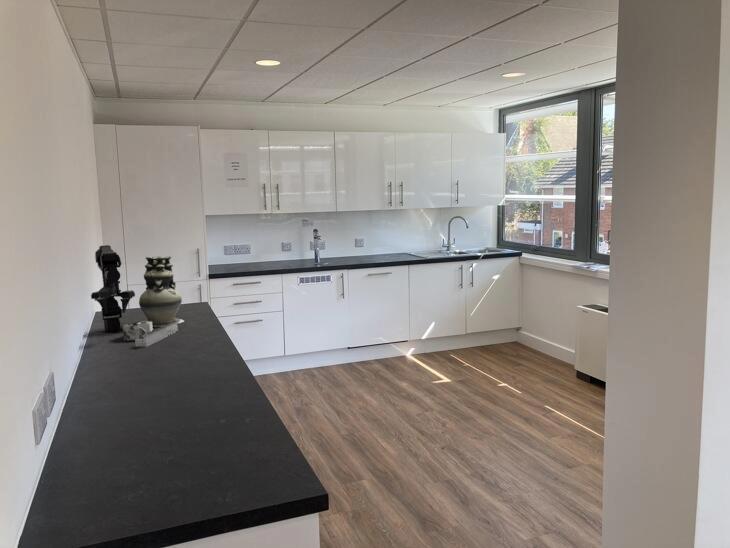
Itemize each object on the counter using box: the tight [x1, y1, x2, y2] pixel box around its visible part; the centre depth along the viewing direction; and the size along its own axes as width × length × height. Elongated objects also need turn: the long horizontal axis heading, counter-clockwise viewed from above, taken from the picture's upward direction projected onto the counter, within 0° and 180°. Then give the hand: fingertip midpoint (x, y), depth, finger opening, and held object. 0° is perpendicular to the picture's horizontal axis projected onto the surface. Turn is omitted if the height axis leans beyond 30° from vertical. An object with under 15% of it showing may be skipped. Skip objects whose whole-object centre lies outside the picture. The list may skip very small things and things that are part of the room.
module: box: [136, 320, 154, 333], centre depth 289 cm, size 6×4×5 cm, turn 91°
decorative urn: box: [138, 255, 185, 328], centre depth 306 cm, size 21×21×35 cm
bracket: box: [134, 321, 179, 348], centre depth 273 cm, size 6×29×5 cm, turn 171°
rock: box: [121, 323, 148, 342], centre depth 276 cm, size 15×10×7 cm
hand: (114, 313), depth 275 cm, fingers open, 9 cm apart
